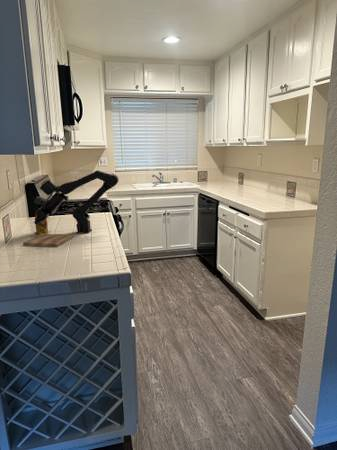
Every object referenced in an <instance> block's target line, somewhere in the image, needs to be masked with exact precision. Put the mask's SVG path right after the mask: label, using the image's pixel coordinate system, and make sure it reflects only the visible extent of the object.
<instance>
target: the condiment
mask: <svg viewBox="0 0 337 450" xmlns="http://www.w3.org/2000/svg"><path fill="white" fill-rule="evenodd" d="M36 218H37V213H36V212H34V221H35V220H36ZM34 224H35V223H34ZM50 232H51V231H50V230H49V227H48V218H47V219H45V220H43V221H41V222H39V223H37V224H35V231H33V233H32V234H31V236H38V235H40V234H50Z"/></svg>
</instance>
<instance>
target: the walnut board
mask: <svg viewBox="0 0 337 450" xmlns="http://www.w3.org/2000/svg"><path fill="white" fill-rule="evenodd" d="M73 238H74V234H68V233H67V234H65V233H64V234H63V233H62V234H61V233H59V234H58V233H48V234H40V235H35V236H34V237H31V238H30V239H28V240H26V241H23V242H22V243H23V244H22V245H23V246H25V247H29V246H30V247H48V248H53V247H54V248H58V247H59V246H61V245H63V244H65V243H66V242H68V241H70V240H72V239H73Z"/></svg>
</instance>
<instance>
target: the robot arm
mask: <svg viewBox="0 0 337 450" xmlns="http://www.w3.org/2000/svg"><path fill="white" fill-rule="evenodd" d="M97 179H98V180H100V181H102V182H103V184H102V185H101V187H100V188H99V189H97V191H95V193H93V194H92V195H91V196H90V198H88V199H87V200H86V201H85V202H84V203H82V202H80V203H79V204H77V206H75V208H73V211H72V217H73V218H74V220H76V230H77V231H76V234H88V233H90V232H92V231H93V229H91V220H90V217H91V215H90V214H88V211H89V209H90V208H91V207H92V206H93V205H94V204H95V203H96V202H97V201H98V200H99V199H100V198H101V197H102V196H103V195H104V194H105V193H106V192H107V191H110V189H112V188H113V187H116V186H117V184H118V183H119V180H120V179H119V177H118V175H116V174H113V173H112V174H109V173H107V172H103V171H101V170H95V171H94V172H92V173H90V174H87V175H86V176H83V177H80V178H78V179H75V180H72V181H68V182H64V183H62V184H61V185H57V186H56V185H55V184H54V183H53V182H52V181H51V180H50V179H47V180H46V181H45V182H44V183H42V184H41V186H40V187H39V189H40V190H41V192H43V193H44V194H45V195H46V196H51V197H50V198H49V199H47V198H46V197H45V198H44V197H42V196H40V195H39V196H38V195H37V196H35V198H34V202H33V203H34V204H37V205H40V206H41V207H39V208H38V209H36V211H35V213H37V218H36V220H35V219H34V222H33V224H37V223H39V222H41V221H43V220H45V219H47V220H48V218H49V217H51V216H52V215H54V214H55V213H56V212H57V209H58V207H60V205H61V203H63V202H64V201H65V202H68V201H69V194H71V193H72V192H74V191H75V190H77V189H78V188H79V187H81V186H83V185H85V184H88V183H90V182H93V181H95V180H97Z"/></svg>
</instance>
